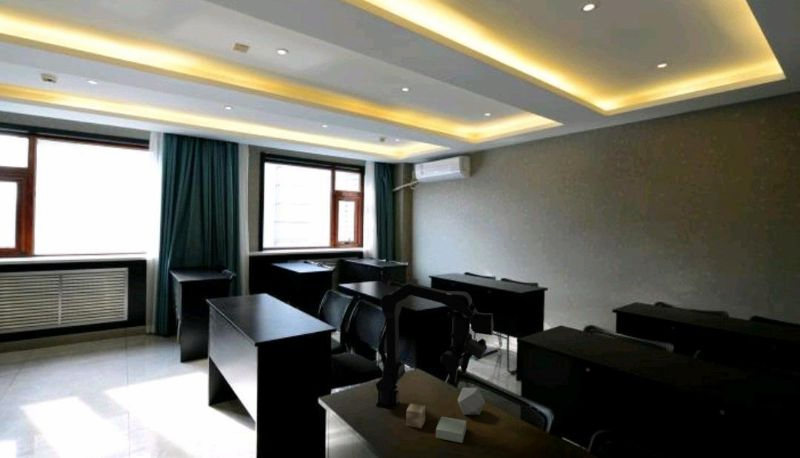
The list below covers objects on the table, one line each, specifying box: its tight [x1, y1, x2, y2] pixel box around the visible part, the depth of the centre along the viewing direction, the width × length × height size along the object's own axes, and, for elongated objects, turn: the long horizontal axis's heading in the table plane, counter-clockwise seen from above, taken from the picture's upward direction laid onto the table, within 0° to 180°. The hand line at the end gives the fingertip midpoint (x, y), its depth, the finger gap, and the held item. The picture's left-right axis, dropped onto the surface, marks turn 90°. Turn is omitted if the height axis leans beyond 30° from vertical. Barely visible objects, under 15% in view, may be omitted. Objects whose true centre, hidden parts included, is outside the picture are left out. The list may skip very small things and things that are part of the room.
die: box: [457, 387, 486, 416], centre depth 129 cm, size 8×9×10 cm
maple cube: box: [405, 403, 426, 429], centre depth 122 cm, size 5×5×5 cm
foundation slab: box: [435, 416, 467, 444], centre depth 116 cm, size 8×8×3 cm
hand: (459, 377), depth 125 cm, fingers open, 9 cm apart
